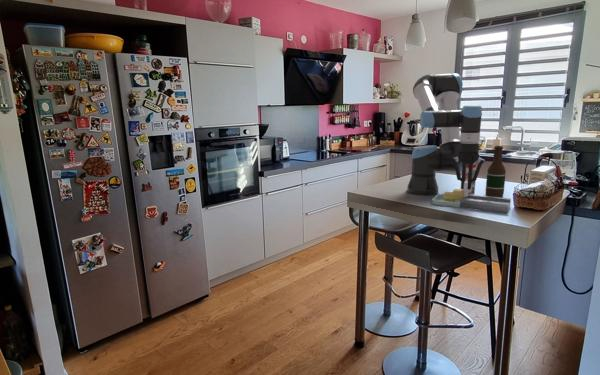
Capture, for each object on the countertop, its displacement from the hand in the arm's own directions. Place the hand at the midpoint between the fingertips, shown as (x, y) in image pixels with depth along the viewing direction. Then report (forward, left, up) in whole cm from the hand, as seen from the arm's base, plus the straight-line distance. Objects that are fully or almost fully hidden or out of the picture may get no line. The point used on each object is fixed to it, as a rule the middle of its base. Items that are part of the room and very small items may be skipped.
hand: (465, 196), depth 159 cm
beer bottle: (+9, +22, -4) cm, 24 cm away
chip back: (-5, 0, -1) cm, 5 cm away
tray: (-7, 0, -4) cm, 8 cm away
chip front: (-3, 0, -2) cm, 3 cm away
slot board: (+8, 0, -4) cm, 9 cm away
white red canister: (-2, +17, -4) cm, 18 cm away
